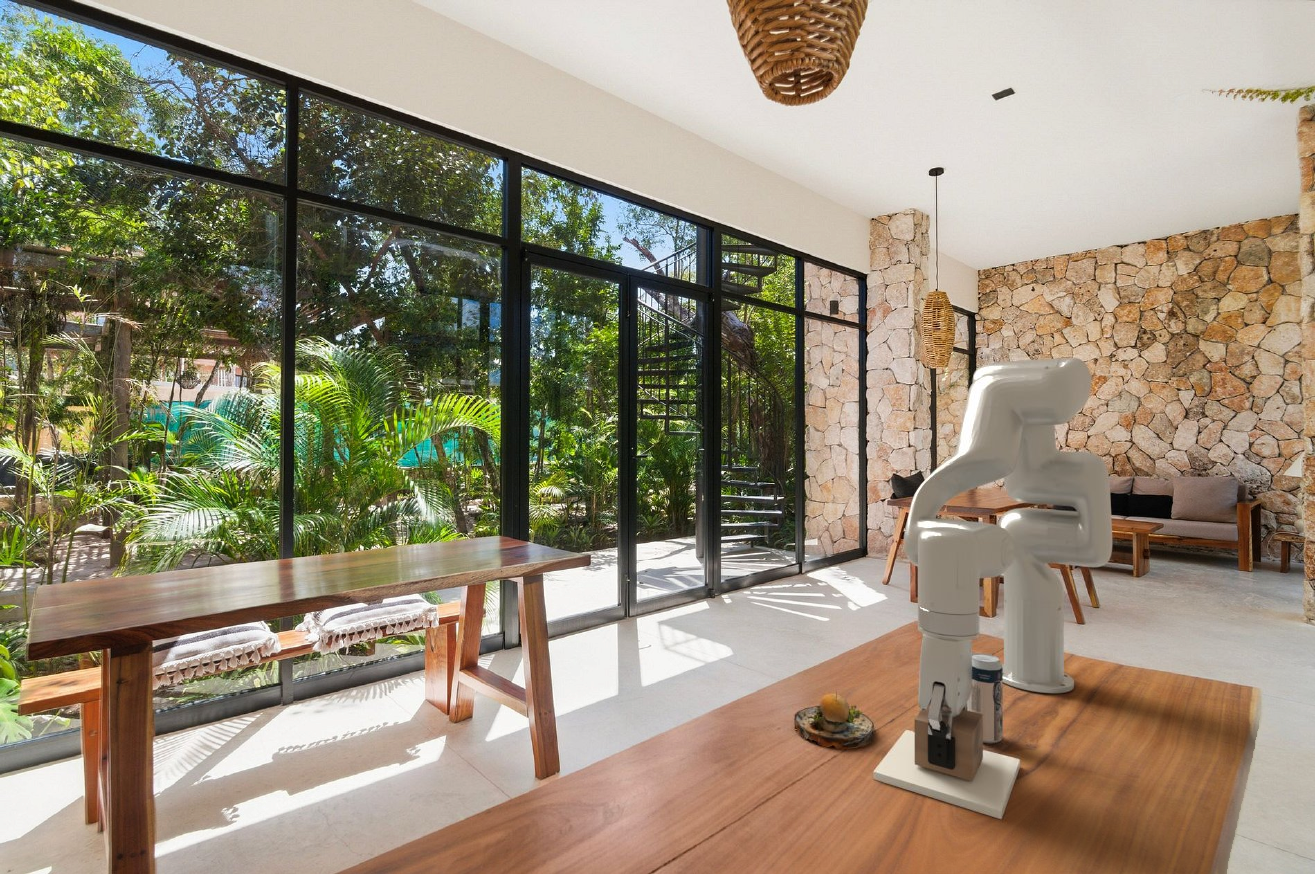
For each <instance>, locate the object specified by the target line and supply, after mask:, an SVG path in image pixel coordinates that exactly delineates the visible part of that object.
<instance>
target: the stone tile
mask: <svg viewBox="0 0 1315 874" xmlns="http://www.w3.org/2000/svg"><path fill="white" fill-rule="evenodd" d="M1020 769H1021V759H1019V758H1017V757H1012V756H1009V755H1004V754H999V753H996V752H992V751H990V750H986V749H983V759H982V762H981V764H980V766H979V768H978V770H977V772H976V774H975V777H974V779H973V781H970V780H967V779H963V778H960V777H956V776H953V775H949V774H946V773H942V772H939V771H936V770H932V769H929V768H925V767H922V766H918V765H915V731H913V730H908V729H905V731H903V733H902V734H901V735H900V737H899V738H898V739H897V741H896V742H895V743H894V744H893V746H892V747H891V748H890V750H889V751H888V752H887V753H886V755H885V756H884V757H883V759H882V760H881V761H880V763H878V765H877V766H876V768H875V769H874V770H873V778H872V779H873V780H875V781H878V782H880V783H884V784H888V785H891V786H894V787H897V788H900V789H904V790H907V791H910V792H914V793H917V794H920V795H923V796H926V797H929V798H932V799H935V800H939V801H941V802H944V803H947V804H948V803H949V804H952V805H955V806H958V807H961V808H964V809H966V810H970V811H973V812H977V813H979V814H984V815H986V816H989V817H993V818H995V819H999V820H1003V816H1004V814H1005V811H1006V808H1007V804H1008V802H1009V800H1010V797H1011V793H1012V790H1013V788H1014V785H1015V781H1016V780H1017V776H1018V773H1019V771H1020Z"/></svg>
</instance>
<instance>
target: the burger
mask: <svg viewBox="0 0 1315 874" xmlns="http://www.w3.org/2000/svg"><path fill="white" fill-rule="evenodd" d="M856 709H857V705H851V706H850V705H849V703H848V701H847V699H846V698H845V697H843V696H841V694H838V691H836V693H828V694H824V696H823V697H822V698H821V699H820V703H819V705H815V706H811V707H810V706H809V707H805V708H804V709H800V710H798V711H796V712H795V714H794V719H793V720H794V721H793V722H794V723H793V724H794V726H795V727H794V730H795V729H797V730H796V731H797V733H798V736H799V737H800V736H802V738H803V739H804V740H807V739H809V740H810V741H815V742H817V744H818V745H819V746H820V745H821V746H820V747H822V746H823V747H825V748H829V747H832V746H834V747H835V748H836V749H840V750H845V749H846V750H847V749H849V750H851V749H857V748H858V749H859V748H862V747H865V746H867V745H869V744H871V743H872V742H873V741H874V740H875V737H876V736H875V735H876V733H875V732H874V730H875V729H874V728H875V725H874V722H873V721H872V719H871V718H869V716H868V715H865V713H864V714H863V710H859V709H858V710H856Z"/></svg>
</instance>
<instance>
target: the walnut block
mask: <svg viewBox="0 0 1315 874" xmlns="http://www.w3.org/2000/svg"><path fill="white" fill-rule="evenodd" d="M929 709H930V705H929V706H928V708H927V709H925V710H922V709H920V711H919V713H918V714H917V715H916V716H915V718H914V732H915V765H918V766H922V767H925V768H929V769H932V770H936V771H939V772H942V773H946V774H949V775H953V776H956V777H960V778H963V779H967V780H970V781H973V779H974V777H975V774H976V772H977V770H978V768H979V766H980V764H981V762H982V759H983V750H984V743H983V714H980V713H976V712H971V711H967V710H962V711H961V712H960V714H959V715H957V716H955V717H954V725H953V735H952V737H954V738H955V768H954V769H953V770H950V769H947V768H943V767H940V766H936V765H933V764H930V763H929V762H928V723H929V719H928V713H929ZM942 711H946V712H950V708H947V707H943V709H942ZM942 721H944V722H945V724H946V726H947V721H948V718H947V717H943V716H942Z"/></svg>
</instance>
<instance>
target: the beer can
mask: <svg viewBox="0 0 1315 874" xmlns="http://www.w3.org/2000/svg"><path fill="white" fill-rule="evenodd" d="M1001 664H1002V662H1001V660H1000V659H999V658H998V656H995V655H992V654H991V653H990V654H989V653H982V652H976V653H975V652H972V690H971V695H970V698H969V700H968V701H967V711H971V712H976V713H980V714H983V744H996V743H999V742H1001V741H1002V740H1003V736H1004V735H1003V733H1004V732H1003V731H1004V729H1003V721H1004V720H1003V719H1004V718H1003V712H1004V710H1003V706H1004V705H1003V703H1004V702H1003V700H1004V699H1003V694H1004V693H1003V690H1004V689H1003V688H1004V686H1003V685H1004V684H1003V683H1004V682H1003V666H1002V665H1001Z"/></svg>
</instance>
